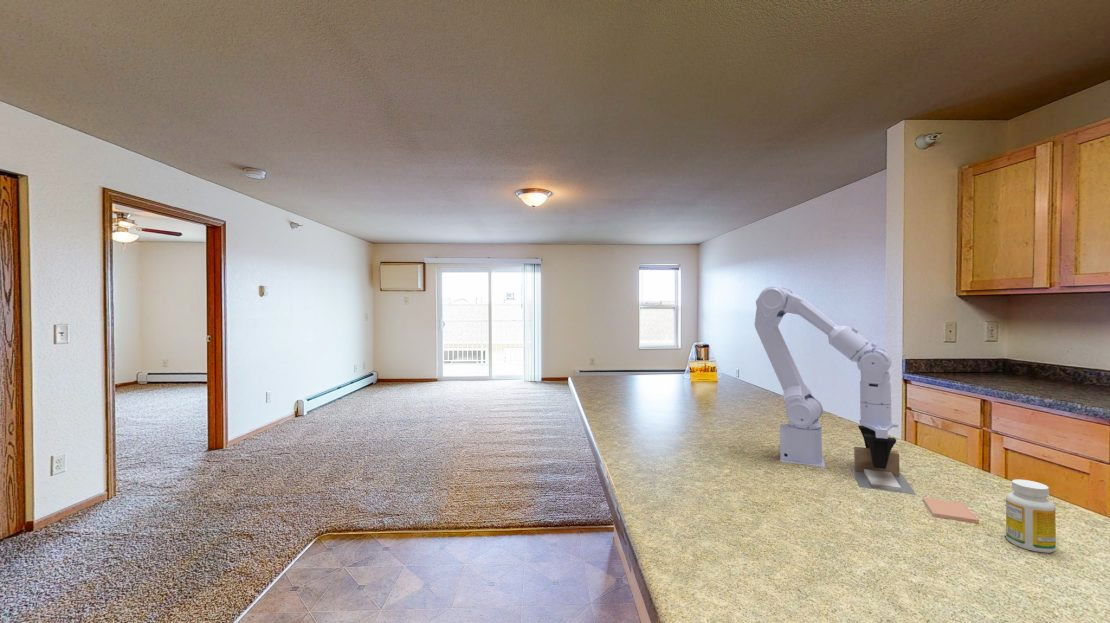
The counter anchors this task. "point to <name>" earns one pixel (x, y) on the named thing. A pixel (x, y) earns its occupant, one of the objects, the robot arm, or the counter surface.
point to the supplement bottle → (1030, 517)
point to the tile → (950, 510)
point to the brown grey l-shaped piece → (878, 469)
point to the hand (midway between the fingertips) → (876, 462)
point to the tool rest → (901, 481)
